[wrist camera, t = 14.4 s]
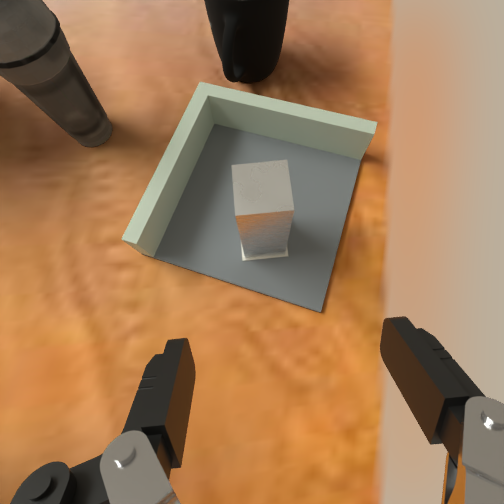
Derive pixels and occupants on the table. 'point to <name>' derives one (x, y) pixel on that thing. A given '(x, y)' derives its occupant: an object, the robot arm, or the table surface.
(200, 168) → the mat
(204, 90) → the corner walls
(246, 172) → the bracket
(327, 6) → the table surface
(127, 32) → the table surface
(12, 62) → the beverage cup
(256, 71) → the mug
